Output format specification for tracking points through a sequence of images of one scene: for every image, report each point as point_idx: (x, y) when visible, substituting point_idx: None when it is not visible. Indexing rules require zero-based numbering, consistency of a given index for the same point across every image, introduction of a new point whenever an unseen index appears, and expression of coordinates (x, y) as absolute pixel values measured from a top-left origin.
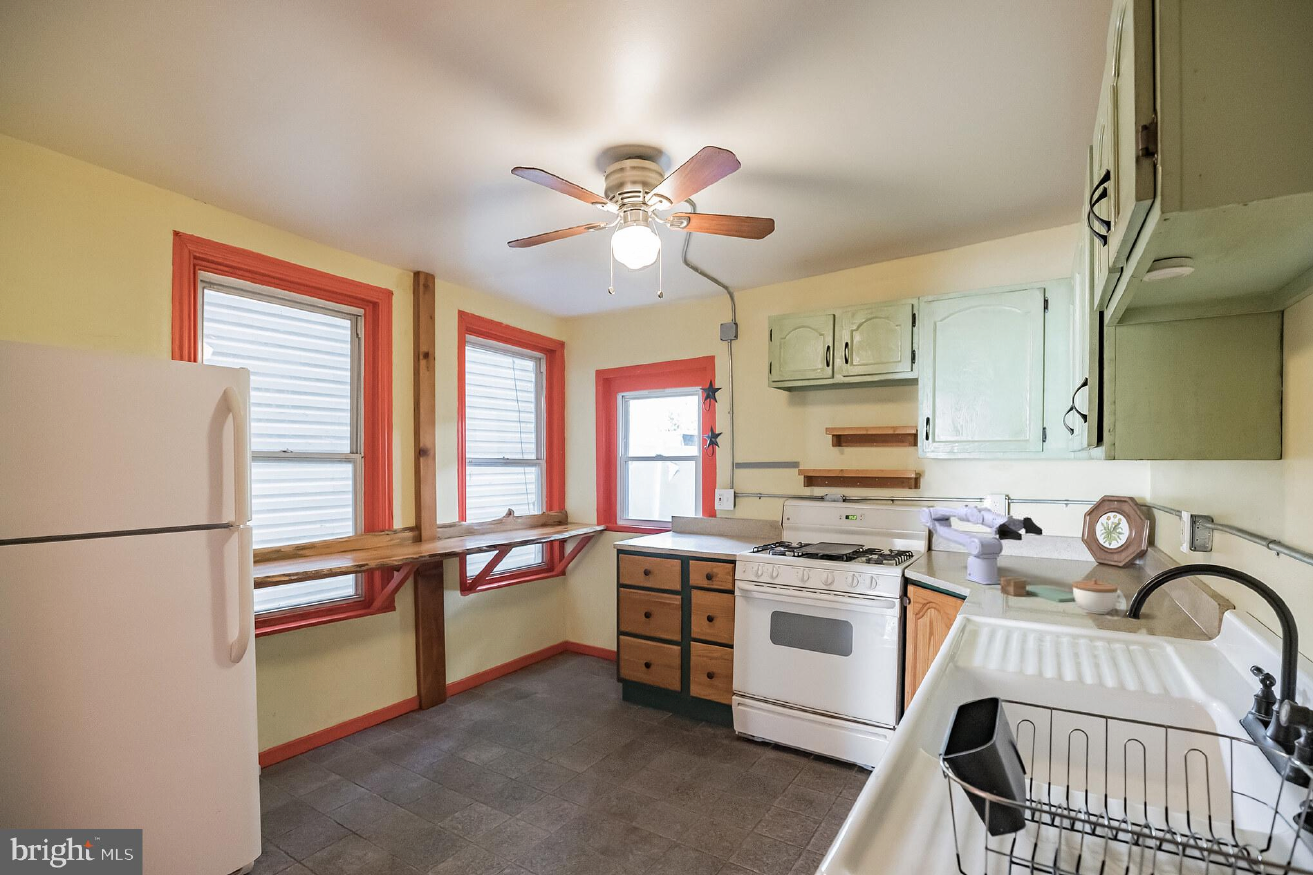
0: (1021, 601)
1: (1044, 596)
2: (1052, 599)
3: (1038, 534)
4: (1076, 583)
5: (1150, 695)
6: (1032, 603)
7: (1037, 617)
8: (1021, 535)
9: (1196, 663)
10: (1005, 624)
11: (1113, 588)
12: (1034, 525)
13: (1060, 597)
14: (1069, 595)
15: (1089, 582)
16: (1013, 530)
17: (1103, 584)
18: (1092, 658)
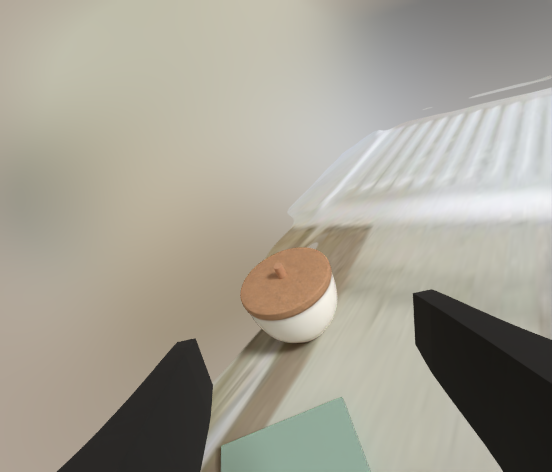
0: None
1: (366, 462)
2: (352, 424)
3: (210, 406)
4: (321, 273)
5: (419, 121)
6: None
7: (463, 247)
8: (416, 304)
9: (337, 174)
10: (545, 192)
11: (271, 256)
12: (155, 397)
13: (323, 421)
14: (272, 459)
15: (280, 289)
16: (499, 333)
17: (264, 277)
18: (434, 147)
